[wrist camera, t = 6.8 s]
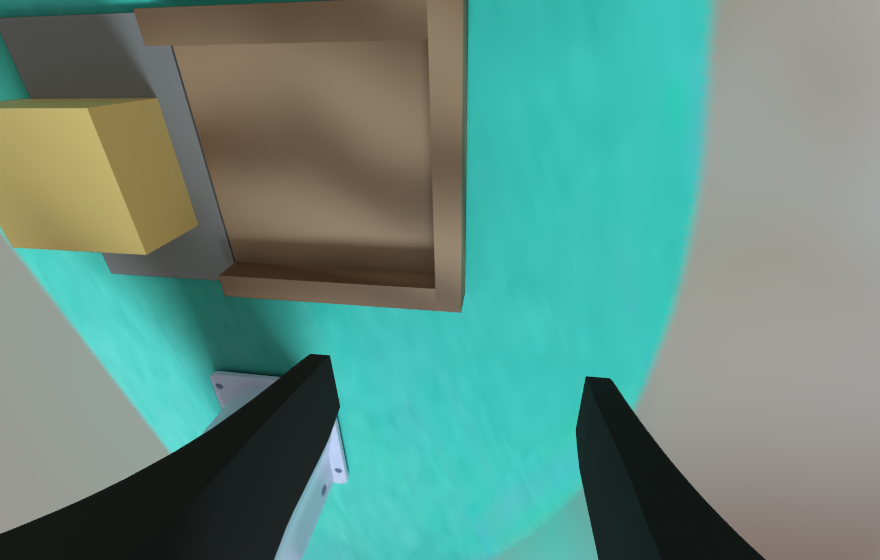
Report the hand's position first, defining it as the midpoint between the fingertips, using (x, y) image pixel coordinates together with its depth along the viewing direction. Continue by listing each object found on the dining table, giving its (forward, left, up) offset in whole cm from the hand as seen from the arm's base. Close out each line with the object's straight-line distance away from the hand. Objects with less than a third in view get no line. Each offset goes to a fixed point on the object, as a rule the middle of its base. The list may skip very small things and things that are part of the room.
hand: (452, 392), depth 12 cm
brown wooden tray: (+4, +7, -9) cm, 12 cm away
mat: (+4, +17, -9) cm, 20 cm away
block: (+4, +18, -9) cm, 20 cm away
